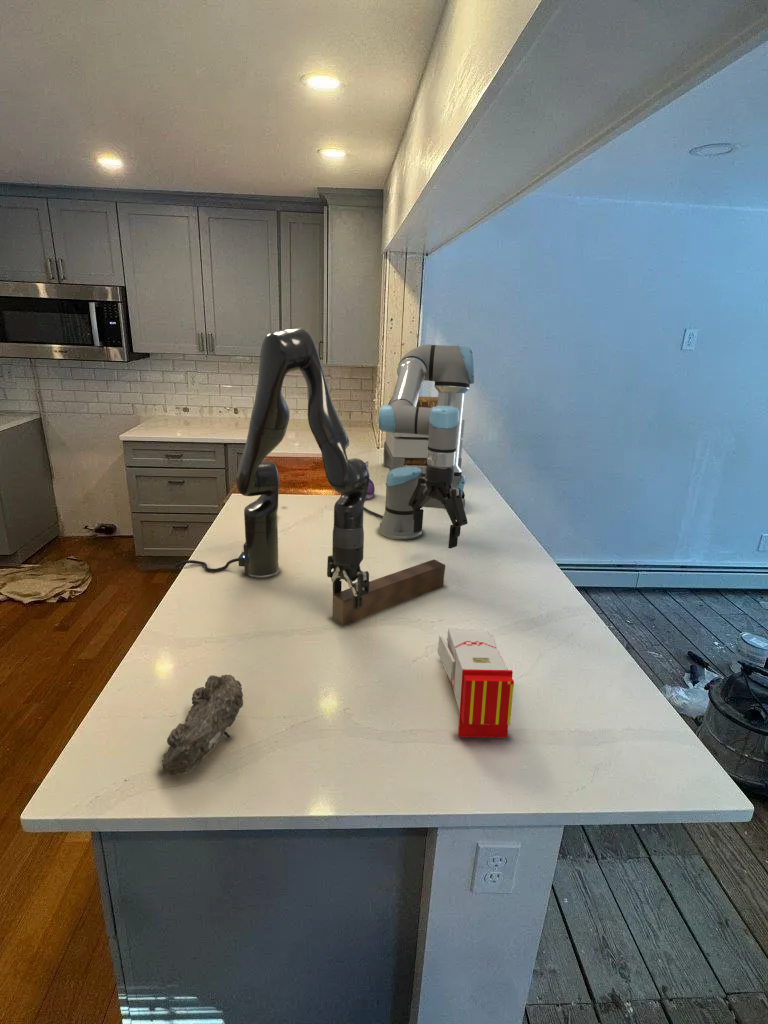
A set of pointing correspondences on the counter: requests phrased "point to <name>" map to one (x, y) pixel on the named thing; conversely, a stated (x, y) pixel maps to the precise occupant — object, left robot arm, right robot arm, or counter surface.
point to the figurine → (370, 487)
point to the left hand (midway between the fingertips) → (347, 601)
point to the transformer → (411, 443)
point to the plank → (389, 591)
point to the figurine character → (463, 498)
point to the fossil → (203, 723)
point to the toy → (478, 682)
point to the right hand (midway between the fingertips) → (434, 539)
